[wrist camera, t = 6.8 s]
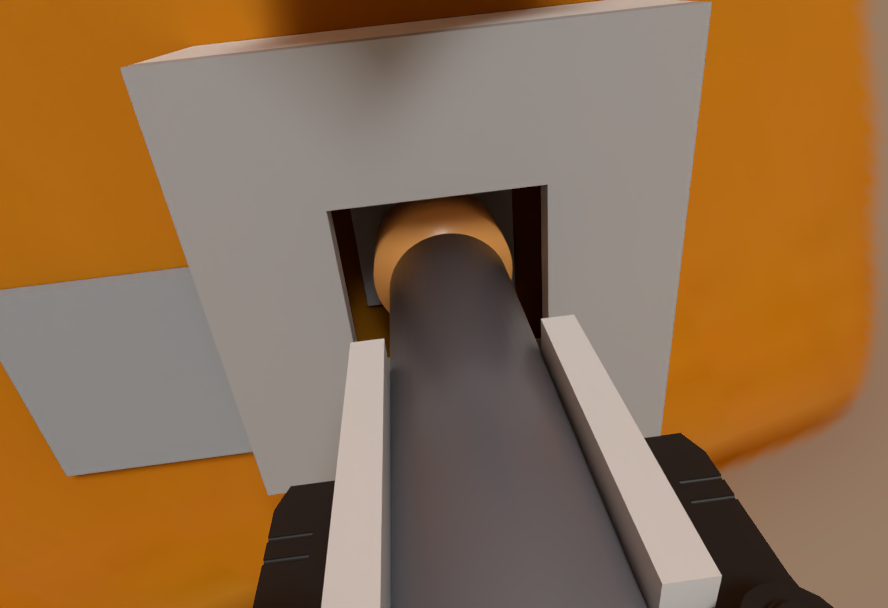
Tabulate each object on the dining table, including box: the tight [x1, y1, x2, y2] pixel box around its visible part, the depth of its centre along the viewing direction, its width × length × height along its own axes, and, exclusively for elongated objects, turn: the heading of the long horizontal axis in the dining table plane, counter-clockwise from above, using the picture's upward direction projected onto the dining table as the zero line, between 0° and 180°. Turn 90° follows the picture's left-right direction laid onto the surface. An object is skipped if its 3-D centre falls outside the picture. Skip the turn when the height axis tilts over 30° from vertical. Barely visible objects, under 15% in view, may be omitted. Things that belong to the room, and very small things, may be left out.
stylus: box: [390, 233, 647, 608], centre depth 10 cm, size 4×4×17 cm
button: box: [374, 194, 513, 313], centre depth 19 cm, size 4×4×2 cm
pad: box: [0, 267, 253, 476], centre depth 24 cm, size 9×9×1 cm
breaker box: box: [120, 0, 712, 495], centre depth 19 cm, size 14×14×6 cm
